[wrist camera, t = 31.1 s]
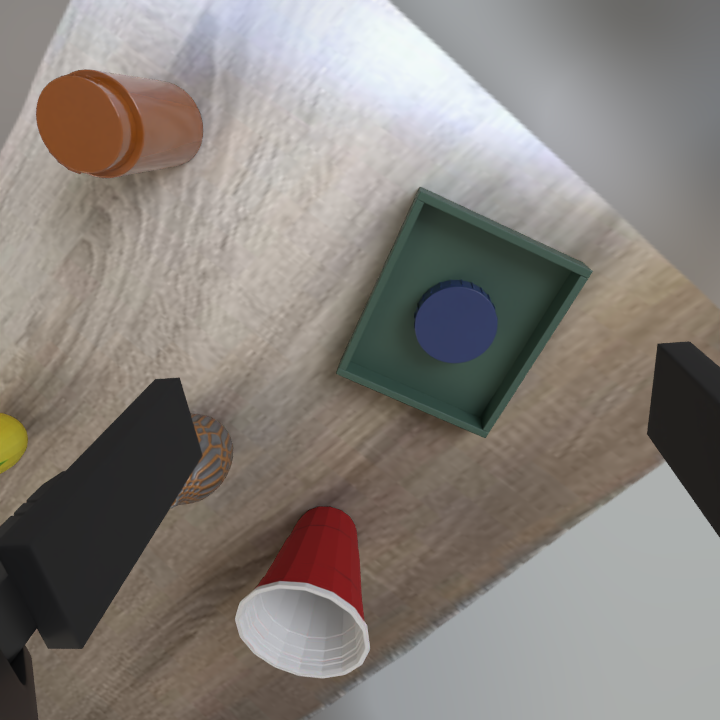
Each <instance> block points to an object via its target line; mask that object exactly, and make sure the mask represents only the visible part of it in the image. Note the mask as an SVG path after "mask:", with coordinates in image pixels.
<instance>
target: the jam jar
mask: <svg viewBox="0 0 720 720" xmlns="http://www.w3.org/2000/svg"><path fill="white" fill-rule="evenodd" d="M36 119H37V125H38V129H39V133H40V135H41V138H42V140H43V142H44V144H45V145H46V147H47V148H48V150H49V152H50V153H51V154H52V155H53V156H54V157H55V158H56V160H57V161H58V162H59V163H60V164H62V165H63V166H65V167H66V168H67V169H68V170H70V171H73V172H76V173H78V174H81V173H87V174H89V175H91V176H94V177H99V178H115V177H120V176H126V175H131V174H137V173H142V172H147V171H153V170H158V169H164V168H169V167H175V166H179V165H182V164H185V163H186V162H188V161H189V160H191V159H192V158H193V157H194V156H195V155H196V153H197V151H198V150H199V148H200V145H201V142H202V137H203V123H202V118H201V115H200V112H199V110H198V107H197V106H196V104H195V102H194V101H193V99H192V98H191V97H190V96H189V95H188V94H187V93H186V92H185V91H184V90H183V89H181V88H180V87H178V86H176V85H175V84H172V83H169V82H165V81H159V80H153V79H147V78H140V77H134V76H128V75H121V74H115V73H109V72H102V71H96V70H78V71H74V72H72V73H70V74H68V75H64V76H61V77H59V78H56V79H54V80H53V81H51V82H50V83H49V84H48V85H47V86H46V87H45V88H44V89H43V91H42V92H41V94H40V96H39V99H38V102H37V108H36Z"/></svg>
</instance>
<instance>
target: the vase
mask: <svg viewBox="0 0 720 720" xmlns="http://www.w3.org/2000/svg"><path fill="white" fill-rule="evenodd" d="M191 418H192V421H193V424H194V428H195V431H196V434H197V438H198V441H199V444H200V448H201V451H202V454H203V456H202V458H201V459H200V461H199V462H198V464H197V466H196V467H195V469H194V470H193V472H192V474H191V475H190V477H189V478H188V480H187V482H186V483H185V485H184V486H183V488H182V490H181V491H180V493H179V494H178V496H177V498H176V499H175V501H174V502H173V504H172V506H171V507H170V508H173V507H175V506H177V505H181V504H190V503H194V502H197V501H200V500H202V499H204V498H206V497H207V496H209V495H210V494H212V493H213V492H214V491H215V490H216V489H217V488H218V487H219V486H220V485H221V484H222V482H223V481H224V479H225V478H226V476H227V474H228V472H229V469H230V467H231V464H232V459H233V445H232V440H231V437H230V435H229V433H228V432H227V430H226V429H225V428H224V427H223V425H222V424H220V423H219V422H218V421H216V420H215V419H213V418H211V417H208V416H205V415H199V414H191Z"/></svg>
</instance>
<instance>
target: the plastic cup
mask: <svg viewBox="0 0 720 720" xmlns="http://www.w3.org/2000/svg"><path fill="white" fill-rule="evenodd" d="M235 621H236V625H237V628H238V632H239V635H240V637H241V639H242V640H243V641H244V642H245V643H246V645H247V646H248V647H249V648H250V649H251V651H252V652H253V653H254V654H255V655H257V656H258V657H260V658H261V659H263V660H264V661H266V662H267V663H269V664H271V665H272V666H274V667H276V668H279V669H281V670H284V671H287V672H290V673H292V674H295V675H298V676H306V677H316V678H328V677H334V676H340V675H345V674H347V673H349V672H350V671H352V670H354V669H355V668H357V667H359V666H360V665H362V664H363V662H364V660H365V658H366V656H367V654H368V652H369V650H370V645H369V637H368V629H367V625H366V623H365V621H364V612H363V604H362V594H361V575H360V559H359V550H358V540H357V531H356V528H355V524H354V523H353V521H352V519H351V518H350V517H349V516H348V515H347V514H345V513H344V512H343V511H341V510H339V509H336V508H333V507H316V508H313V509H311V510H308V511H307V512H306V513H305V514H304V515H303V516H302V517H301V518H300V519H299V520H298V522H297V524H296V526H295V527H294V529H293V531H292V533H291V535H290V536H289V537H288V538H287V539H286V541H285V543H284V545H283V546H282V548H281V550H280V551H279V553H278V555H277V556H276V558H275V560H274V562H273V563H272V565H271V567H270V568H269V570H268V572H267V573H266V575H265V577H263V578H262V580H261V581H260V583H259V585H258V586H257V587H255V589H254V590H253V591H252V592H251V593H249V594H248V595H247V596H246V597H245V598H243V599H242V601H241V602H240V603H239V607H238V610H237V614H236V617H235Z"/></svg>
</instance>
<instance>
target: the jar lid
mask: <svg viewBox="0 0 720 720" xmlns="http://www.w3.org/2000/svg"><path fill="white" fill-rule="evenodd" d="M495 310H496V309H495V306H494V304H493V303H492V302H491V299H490V296H489V294H488V295H487V294H486V293H485V291H483V289H482V287H478V286H477V285H475V284H473V282H471V283H470V282H467V281H463V280H462V279H461V280H451V279H450V281H445V282H442V283H441V282H439V284H437V285H435V286H433V287H432V288H431V287H430V289H429V290H428V291H427V292H426V293H425V294H423V295H422V298H421V299H420V301H419V303H417V308H416V312H415V313H414V319H415V322H414V329H415V333H416V338H417V340H418V342H419V344H420V346H421V347H422V348H423V350H424V351H425V352H426V353H428V354H429V355H430V356H432V357H433V358H435V359H437V360H439V361H442V362H447V363H463V362H467V361H470V360H473V359H475V358H477V357H478V356H480V355H481V354H483V353H484V352H485V351H486V350H487V349H488V348H489V346H490V345H491V344H492V342H493V340H494V338H495V336H496V332H497V324H498V321H497V320H498V318H497V315H496V312H495Z"/></svg>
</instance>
